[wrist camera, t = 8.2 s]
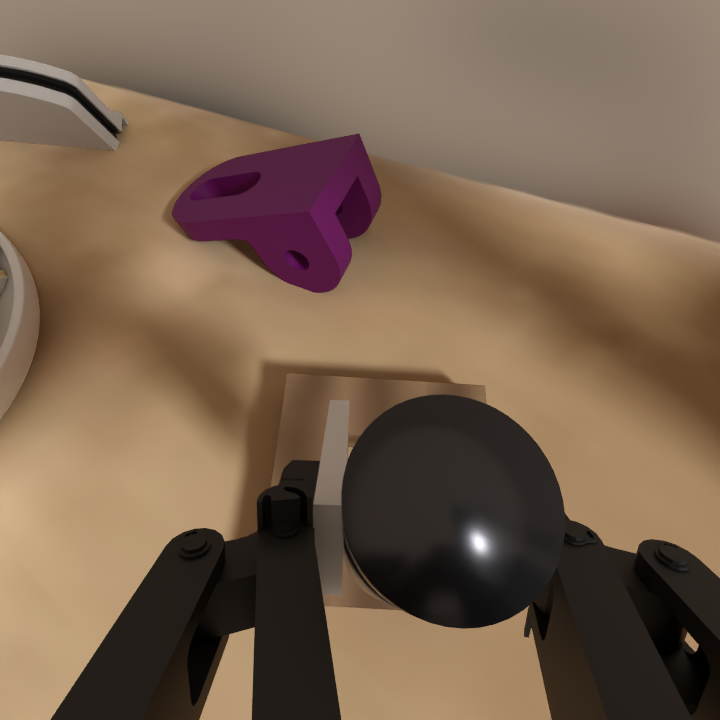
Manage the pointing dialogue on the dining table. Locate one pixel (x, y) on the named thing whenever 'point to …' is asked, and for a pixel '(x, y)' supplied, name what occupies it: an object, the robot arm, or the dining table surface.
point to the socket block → (366, 403)
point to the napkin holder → (53, 108)
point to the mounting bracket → (288, 207)
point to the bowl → (16, 321)
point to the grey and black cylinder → (451, 512)
